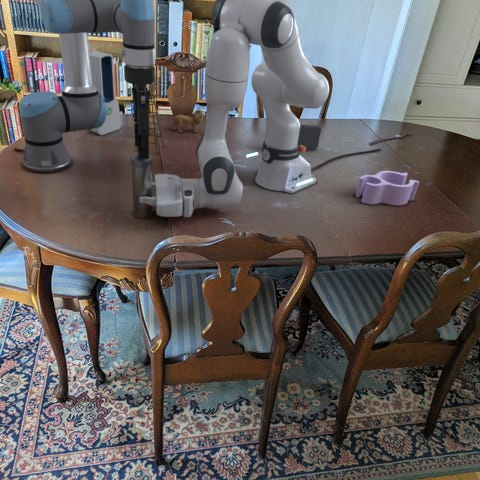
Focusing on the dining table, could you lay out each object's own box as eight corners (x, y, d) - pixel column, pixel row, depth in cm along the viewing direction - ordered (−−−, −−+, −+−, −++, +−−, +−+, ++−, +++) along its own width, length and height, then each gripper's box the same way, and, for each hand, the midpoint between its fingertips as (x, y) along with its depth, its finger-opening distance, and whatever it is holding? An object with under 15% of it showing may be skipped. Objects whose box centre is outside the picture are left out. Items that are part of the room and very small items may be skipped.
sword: (408, 132, 223) (408, 130, 222) (413, 134, 221) (414, 132, 220) (365, 144, 207) (365, 141, 206) (370, 146, 205) (370, 144, 204)
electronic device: (99, 136, 184) (93, 56, 168) (85, 131, 187) (78, 52, 171) (121, 128, 194) (118, 52, 177) (108, 124, 197) (103, 48, 180)
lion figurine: (201, 127, 203) (202, 107, 198) (204, 132, 199) (205, 111, 194) (168, 129, 198) (168, 108, 193) (170, 133, 194) (171, 112, 189)
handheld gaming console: (315, 147, 196) (319, 124, 190) (317, 149, 194) (322, 126, 188) (264, 149, 189) (267, 125, 183) (266, 152, 187) (269, 127, 181)
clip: (368, 208, 154) (373, 189, 150) (349, 190, 163) (353, 172, 160) (418, 203, 160) (424, 185, 156) (397, 187, 170) (402, 169, 166)
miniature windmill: (157, 154, 175) (156, 71, 159) (135, 150, 176) (133, 68, 160) (165, 145, 182) (165, 66, 166) (144, 142, 183) (143, 62, 167)
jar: (155, 215, 138) (155, 160, 128) (139, 220, 135) (137, 164, 125) (146, 207, 141) (145, 153, 132) (130, 211, 138) (128, 156, 129)
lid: (156, 164, 129) (156, 159, 128) (137, 168, 126) (137, 163, 125) (146, 157, 132) (145, 151, 132) (127, 160, 129) (127, 155, 128)
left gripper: (120, 55, 122) (124, 138, 134) (127, 75, 106) (131, 168, 118) (149, 56, 124) (150, 138, 136) (160, 76, 108) (161, 167, 120)
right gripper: (184, 168, 144) (138, 168, 141) (191, 200, 127) (139, 200, 124) (184, 187, 147) (139, 187, 144) (190, 220, 130) (139, 221, 127)
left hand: (141, 152), depth 127 cm, fingers open, 8 cm apart
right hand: (139, 193), depth 134 cm, fingers closed on jar, 5 cm apart
